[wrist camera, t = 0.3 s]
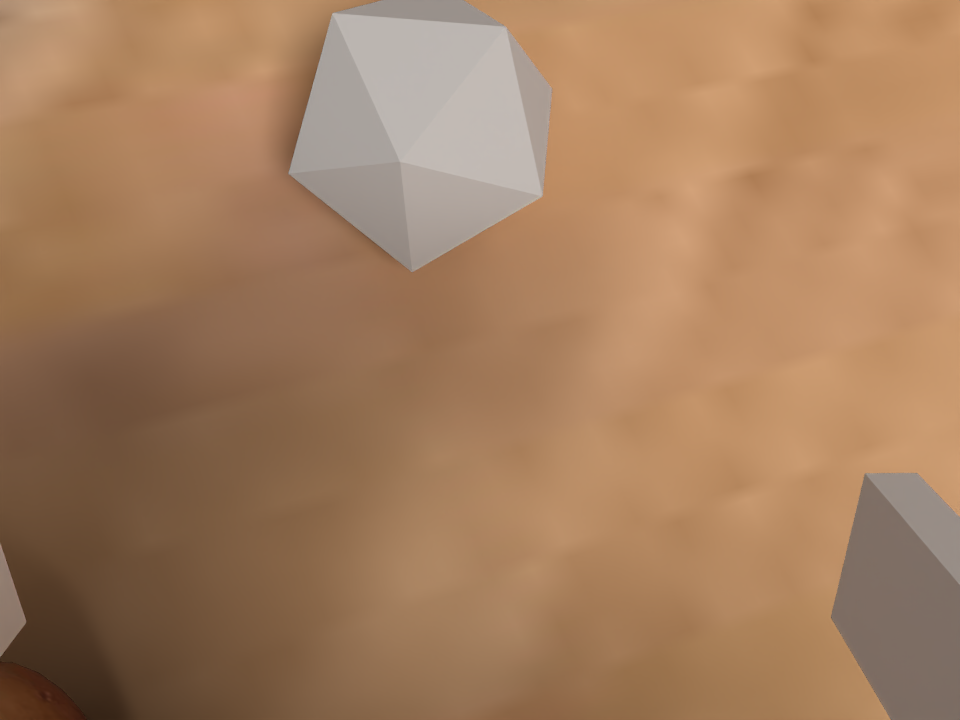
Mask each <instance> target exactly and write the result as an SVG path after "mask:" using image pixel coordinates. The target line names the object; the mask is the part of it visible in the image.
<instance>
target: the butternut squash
mask: <svg viewBox="0 0 960 720" xmlns="http://www.w3.org/2000/svg"><path fill="white" fill-rule="evenodd" d="M0 720H87V719H86V717H85V716H84V714H83V713H82V711H81V710H80V709H79V708H78V707H77V705H76V704H75V703H74V702H73V701H72V700H71V699H70V698H69V697H68V695H67V694H66V693H65V692H64V691H63V690H62V689H61V688H59V687H58V686H56V685H55V684H54V683H52V682H51V681H49V680H48V679H46V678H45V677H44V676H42V675H41V674H39V673H38V672H36V671H33V670H31V669H28V668H25V667H23V666H20V665H17V664H15V663H13V662H12V663H7V662H0Z"/></svg>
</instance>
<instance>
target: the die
mask: <svg viewBox="0 0 960 720" xmlns="http://www.w3.org/2000/svg"><path fill="white" fill-rule="evenodd" d="M551 97H552V88H551V87H550V85H549V84H548V83H547V81H546V80H545V79H544V77H543V76H542V75H541V73H540V72H539V71H538V69H537V68H536V67H535V65H534V64H533V63H532V61H531V60H530V58H529V57H528V56H527V54H526V53H525V52H524V50H523V49H522V48H521V46H520V45H519V44H518V42H517V41H516V40H515V38H514V37H513V36H512V34H511V33H510V32H509V30H508V29H507V28H506V27H505V26H504V25H502V24H501V23H499V22H497V21H496V20H494V19H493V18H491V17H489V16H488V15H486V14H485V13H483V12H481V11H480V10H478V9H477V8H475V7H473V6H472V5H470V4H469V3H467V2H465V1H464V0H382V1H378V2H374V3H370V4H366V5H362V6H358V7H354V8H351V9H347V10H343V11H339V12H335V13H332V17H331V21H330V24H329V28H328V32H327V35H326V39H325V42H324V46H323V50H322V53H321V57H320V61H319V64H318V68H317V71H316V75H315V79H314V82H313V86H312V90H311V93H310V97H309V100H308V104H307V108H306V111H305V115H304V119H303V122H302V126H301V129H300V133H299V137H298V140H297V144H296V148H295V151H294V155H293V158H292V162H291V166H290V169H289V173H288V174H289V175H291V176H292V177H293V178H294V179H296V180H297V181H298V182H299V183H301V184H302V185H303V186H304V187H306V188H307V189H308V190H309V191H311V192H312V193H313V194H314V195H316V196H317V197H318V198H319V199H321V200H322V201H323V202H324V203H326V204H327V205H328V206H329V207H331V208H332V209H333V210H334V211H336V212H337V213H338V214H340V215H341V216H342V217H343V218H345V219H346V220H347V221H348V222H350V223H351V224H352V225H353V226H355V227H356V228H357V229H358V230H360V231H361V232H362V233H363V234H365V235H366V236H367V237H368V238H370V239H371V240H372V241H373V242H375V243H376V244H377V245H378V246H380V247H381V248H382V249H383V250H385V251H386V252H387V253H388V254H390V255H391V256H392V257H393V258H395V259H396V260H397V261H398V262H400V263H401V264H402V265H404V266H405V267H406V268H407V269H409V270H410V271H411V272H414V271H415V270H417V269H419V268H421V267H422V266H424V265H426V264H427V263H429V262H431V261H433V260H434V259H436V258H438V257H439V256H441V255H443V254H445V253H446V252H448V251H450V250H451V249H453V248H455V247H457V246H458V245H460V244H462V243H463V242H465V241H467V240H469V239H470V238H472V237H474V236H475V235H477V234H479V233H481V232H482V231H484V230H486V229H487V228H489V227H491V226H493V225H494V224H496V223H498V222H499V221H501V220H503V219H505V218H506V217H508V216H510V215H511V214H513V213H515V212H517V211H518V210H520V209H522V208H523V207H525V206H527V205H529V204H530V203H532V202H534V201H535V200H537V199H539V198H541V197H542V196H543V186H544V175H545V164H546V153H547V142H548V130H549V119H550V108H551Z"/></svg>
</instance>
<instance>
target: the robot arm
mask: <svg viewBox="0 0 960 720" xmlns="http://www.w3.org/2000/svg"><path fill="white" fill-rule="evenodd" d="M831 618H832V620H833V622H834V623H835V625H836V627H837V629H838V630H839V632H840V634H841V635H842V637H843V639H844V641H845V642H846V644H847V646H848V647H849V649H850V651H851V652H852V654H853V656H854V658H855V659H856V661H857V663H858V664H859V666H860V668H861V669H862V671H863V673H864V675H865V676H866V678H867V680H868V681H869V683H870V685H871V686H872V688H873V690H874V692H875V693H876V695H877V697H878V698H879V700H880V702H881V703H882V705H883V707H884V709H885V710H886V712H887V714H888V715H889V717H890V719H891V720H960V517H959V516H958V515H957V514H956V513H955V512H954V511H953V510H952V509H951V508H950V507H949V506H948V505H947V504H946V503H945V502H944V501H943V500H942V498H941V497H940V496H939V495H938V494H937V493H936V492H935V491H934V490H933V489H932V488H931V487H930V486H929V485H928V484H927V483H926V482H925V481H924V480H923V479H922V478H921V477H920V476H919V475H918V474H917V473H865V476H864V480H863V484H862V488H861V492H860V497H859V501H858V505H857V509H856V513H855V518H854V522H853V526H852V530H851V535H850V539H849V543H848V547H847V551H846V556H845V560H844V564H843V568H842V573H841V577H840V581H839V585H838V589H837V594H836V598H835V602H834V606H833V610H832V615H831ZM25 624H26V619H25V616H24V613H23V610H22V607H21V604H20V601H19V598H18V595H17V592H16V589H15V586H14V583H13V580H12V577H11V574H10V571H9V568H8V565H7V562H6V559H5V556H4V553H3V550H2V547H1V544H0V657H1V656H2V654H3V653H4V652H5V650H6V649H7V648H8V646H9V645H10V644H11V642H12V641H13V640H14V638H15V637H16V636H17V634H18V633H19V632H20V630H21V629H22V628H23V626H24V625H25Z"/></svg>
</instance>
